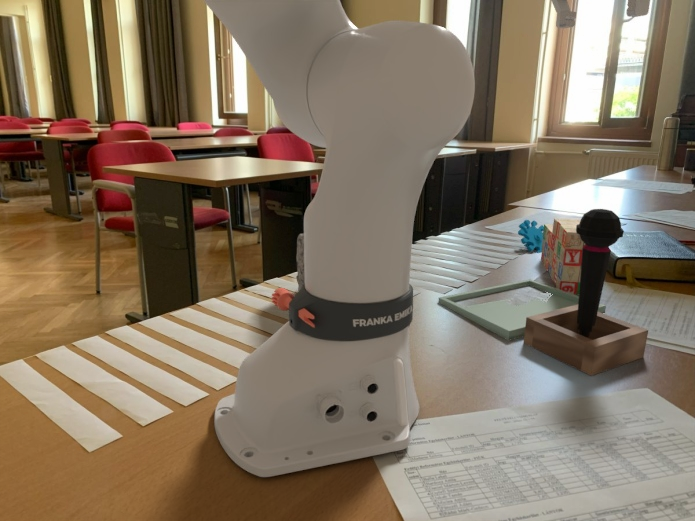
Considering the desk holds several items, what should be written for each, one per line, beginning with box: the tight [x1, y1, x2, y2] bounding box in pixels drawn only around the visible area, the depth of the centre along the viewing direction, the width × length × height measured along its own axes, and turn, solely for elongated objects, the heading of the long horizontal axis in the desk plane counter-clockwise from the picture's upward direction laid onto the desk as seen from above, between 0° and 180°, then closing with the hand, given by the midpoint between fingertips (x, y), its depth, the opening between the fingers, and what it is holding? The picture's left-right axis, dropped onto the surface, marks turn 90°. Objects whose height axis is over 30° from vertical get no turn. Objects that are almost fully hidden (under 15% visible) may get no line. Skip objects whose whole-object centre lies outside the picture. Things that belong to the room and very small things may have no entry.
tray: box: [437, 278, 607, 341], centre depth 86 cm, size 22×16×2 cm
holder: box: [523, 304, 649, 377], centre depth 72 cm, size 11×11×4 cm
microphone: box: [576, 208, 625, 338], centre depth 69 cm, size 6×6×20 cm
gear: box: [517, 219, 544, 254], centre depth 123 cm, size 11×6×10 cm
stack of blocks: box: [540, 218, 585, 295], centre depth 102 cm, size 21×6×12 cm, turn 169°
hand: (598, 22), depth 61 cm, fingers open, 8 cm apart
